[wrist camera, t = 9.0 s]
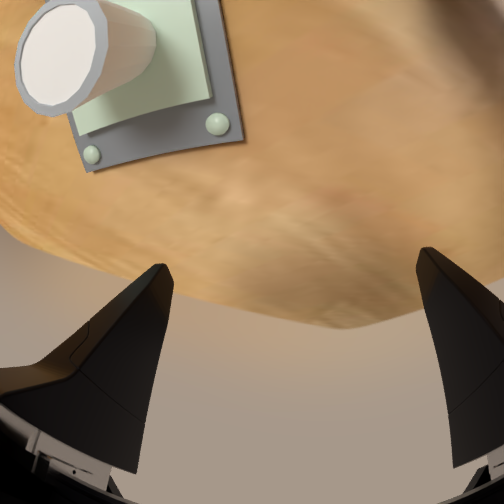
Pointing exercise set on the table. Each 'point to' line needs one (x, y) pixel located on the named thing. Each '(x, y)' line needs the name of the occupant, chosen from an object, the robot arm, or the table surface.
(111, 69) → the shot glass
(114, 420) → the robot arm
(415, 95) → the table surface
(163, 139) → the baseplate
